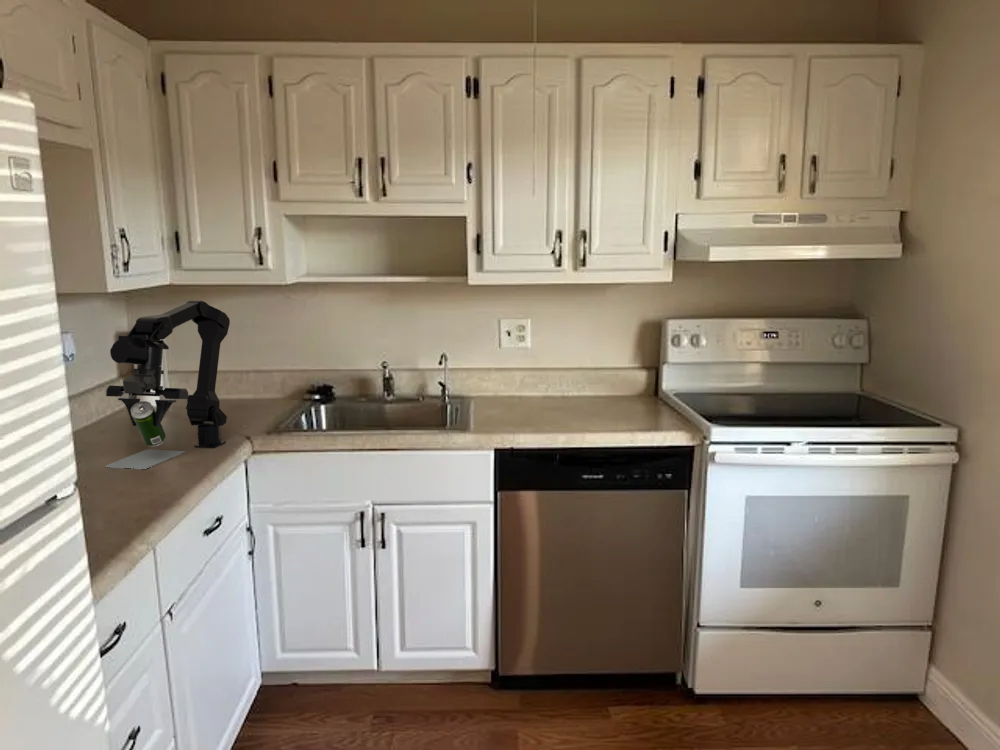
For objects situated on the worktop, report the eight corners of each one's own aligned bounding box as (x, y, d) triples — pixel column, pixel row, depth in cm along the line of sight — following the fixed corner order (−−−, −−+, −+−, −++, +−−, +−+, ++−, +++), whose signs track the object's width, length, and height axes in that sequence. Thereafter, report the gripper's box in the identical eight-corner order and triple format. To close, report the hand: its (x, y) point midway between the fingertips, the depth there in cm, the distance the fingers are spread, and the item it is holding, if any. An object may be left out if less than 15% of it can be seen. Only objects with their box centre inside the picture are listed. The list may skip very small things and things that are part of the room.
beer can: (170, 439, 184) (156, 408, 176) (150, 450, 181) (135, 418, 173) (160, 429, 187) (146, 397, 178) (141, 439, 184) (125, 407, 176)
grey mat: (147, 451, 198) (147, 449, 198) (184, 453, 196) (184, 451, 196) (105, 467, 182) (105, 465, 182) (146, 469, 180) (145, 467, 180)
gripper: (95, 362, 171) (90, 425, 170) (170, 365, 171) (166, 429, 170) (119, 364, 182) (116, 424, 181) (190, 367, 182) (187, 427, 181)
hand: (145, 426), depth 178 cm, fingers closed on beer can, 5 cm apart
